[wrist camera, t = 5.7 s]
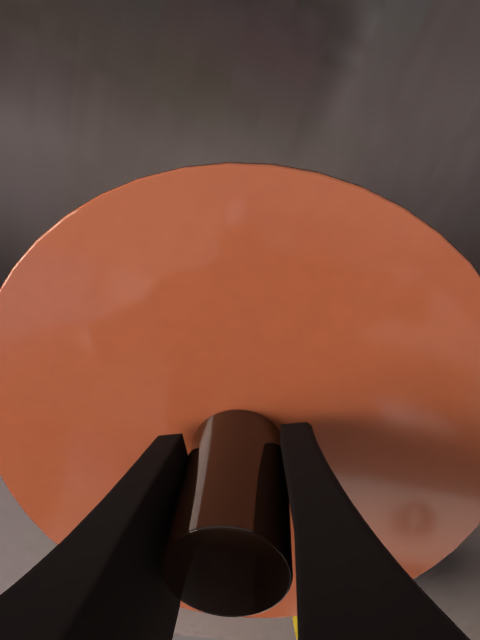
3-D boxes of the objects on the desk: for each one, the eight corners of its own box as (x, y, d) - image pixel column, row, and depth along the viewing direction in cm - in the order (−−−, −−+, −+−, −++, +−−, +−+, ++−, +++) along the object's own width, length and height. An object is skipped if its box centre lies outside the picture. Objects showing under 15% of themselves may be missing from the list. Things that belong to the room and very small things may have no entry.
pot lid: (527, 105, 8) (787, 71, 4) (485, 575, 13) (581, 769, 9) (-87, 213, 10) (-341, 265, 6) (86, 593, 15) (17, 764, 11)
